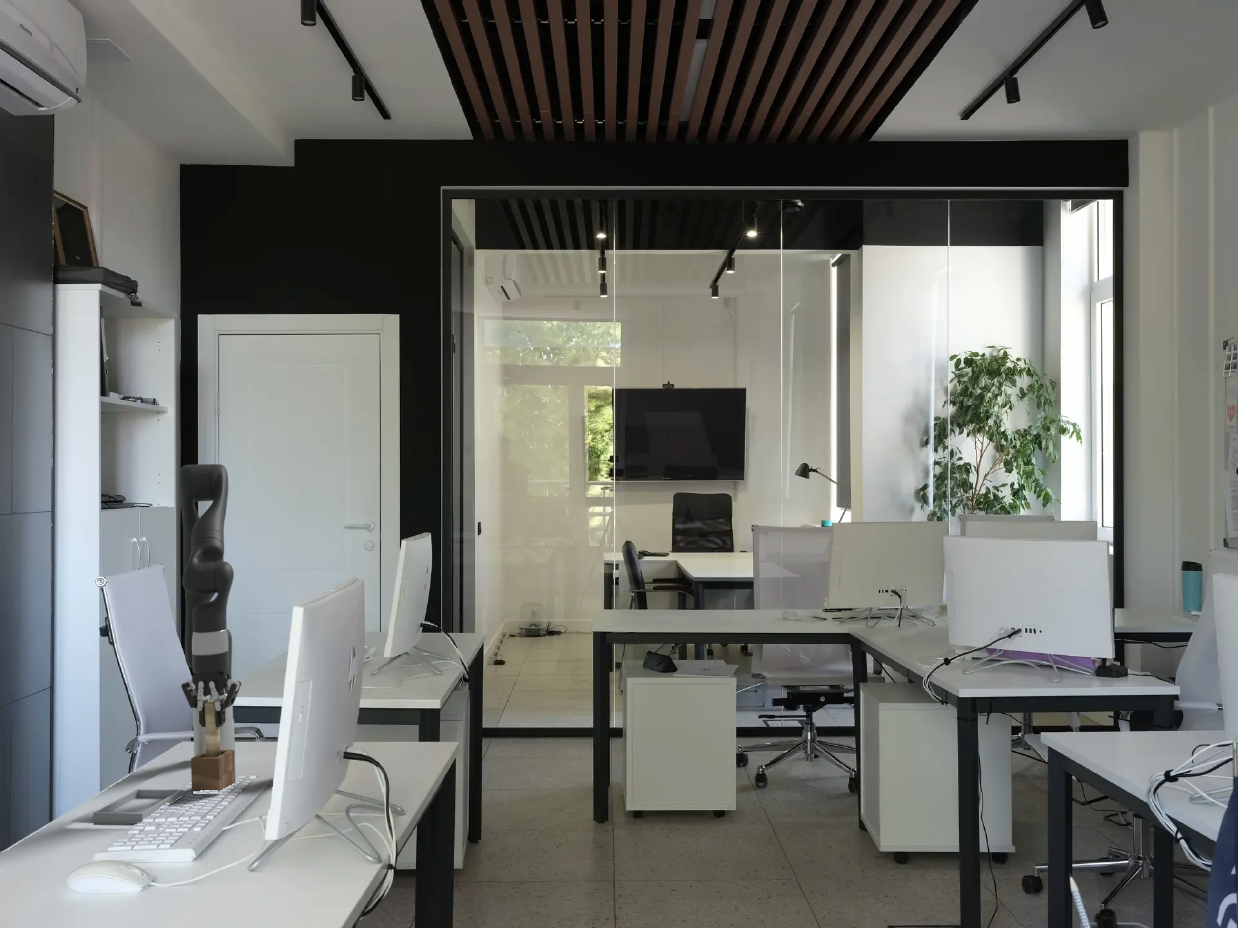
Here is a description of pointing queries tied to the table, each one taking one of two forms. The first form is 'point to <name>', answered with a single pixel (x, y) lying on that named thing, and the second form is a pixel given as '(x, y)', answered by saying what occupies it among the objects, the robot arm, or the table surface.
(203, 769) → the walnut holder
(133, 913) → the table surface
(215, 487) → the robot arm
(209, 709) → the birch dowel
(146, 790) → the grey tray
